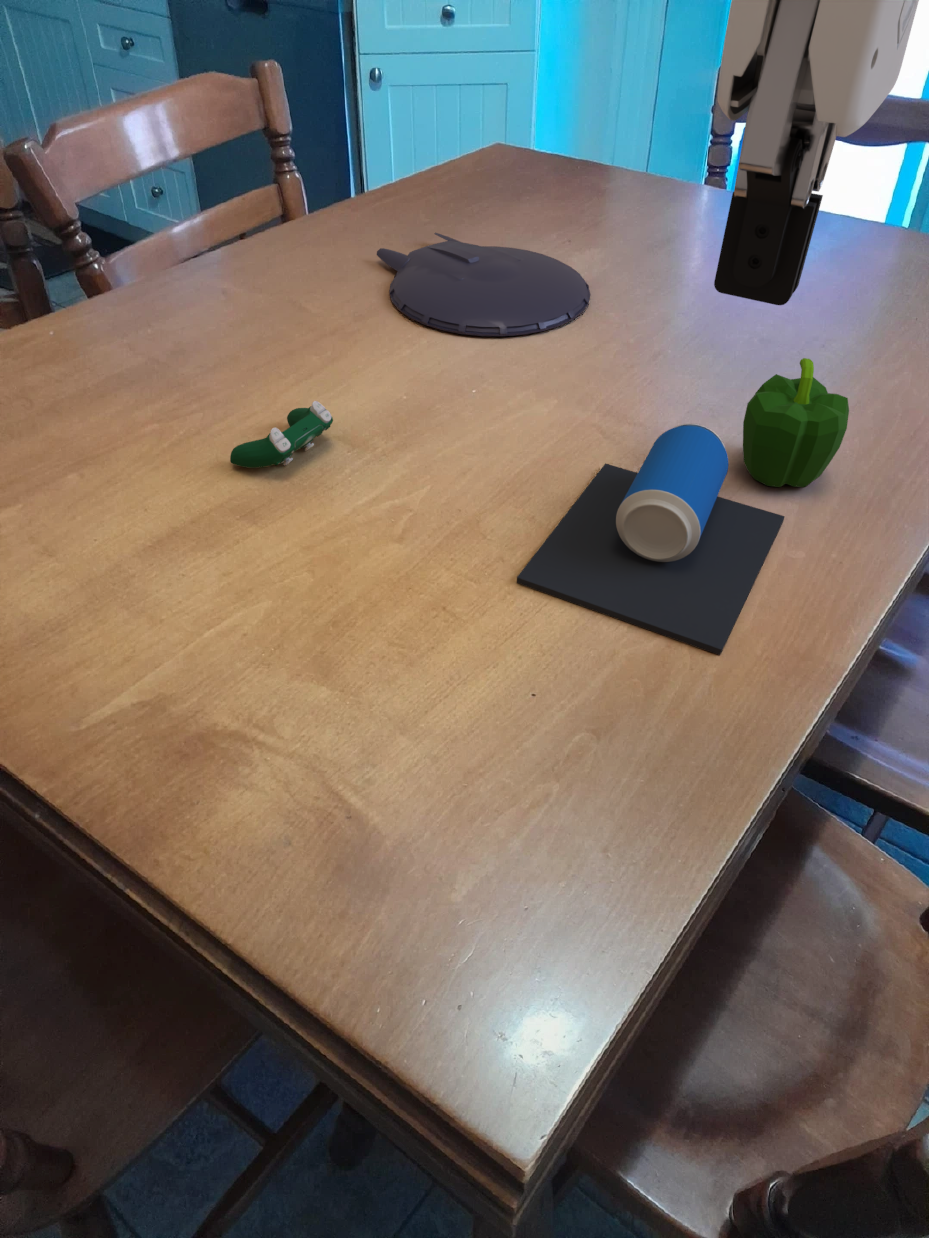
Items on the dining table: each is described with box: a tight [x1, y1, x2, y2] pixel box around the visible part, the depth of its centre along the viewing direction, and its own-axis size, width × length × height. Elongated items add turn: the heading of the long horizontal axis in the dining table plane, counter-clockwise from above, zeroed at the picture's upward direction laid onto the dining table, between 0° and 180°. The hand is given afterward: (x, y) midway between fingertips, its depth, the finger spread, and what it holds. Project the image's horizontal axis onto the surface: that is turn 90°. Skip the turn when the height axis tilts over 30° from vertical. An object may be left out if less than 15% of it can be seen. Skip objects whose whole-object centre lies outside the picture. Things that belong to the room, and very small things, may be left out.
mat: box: [516, 462, 785, 656], centre depth 72 cm, size 16×18×1 cm
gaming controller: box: [229, 400, 334, 469], centre depth 80 cm, size 9×4×6 cm
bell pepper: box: [742, 357, 850, 488], centre depth 77 cm, size 8×8×10 cm
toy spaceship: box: [376, 232, 591, 337], centre depth 108 cm, size 28×24×3 cm
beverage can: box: [616, 423, 729, 562], centre depth 71 cm, size 6×6×12 cm
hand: (754, 291), depth 38 cm, fingers closed
